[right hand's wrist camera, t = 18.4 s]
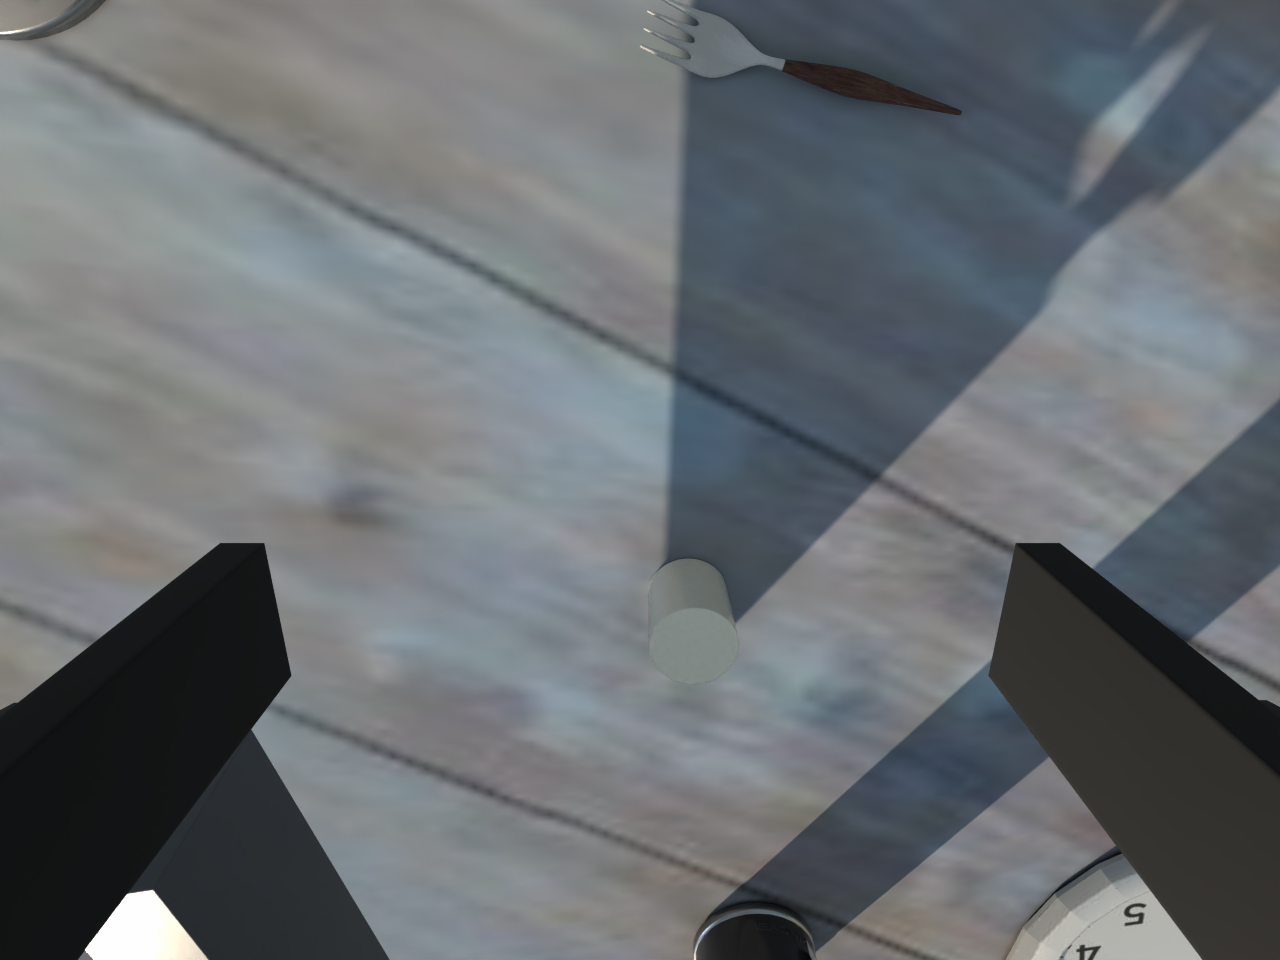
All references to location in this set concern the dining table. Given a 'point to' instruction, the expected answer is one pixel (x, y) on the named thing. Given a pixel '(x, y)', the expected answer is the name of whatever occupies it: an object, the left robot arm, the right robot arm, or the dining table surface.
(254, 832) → the bar
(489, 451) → the dining table surface
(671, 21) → the fork
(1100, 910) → the wall clock
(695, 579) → the off-white cylinder
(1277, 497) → the dining table surface
